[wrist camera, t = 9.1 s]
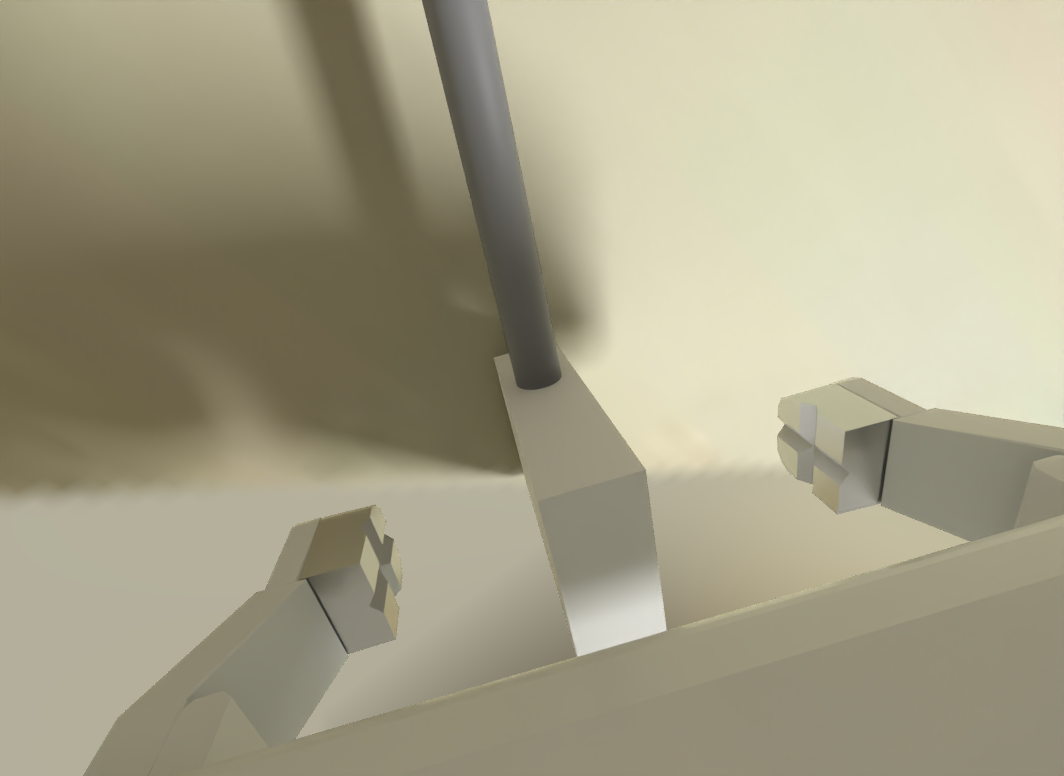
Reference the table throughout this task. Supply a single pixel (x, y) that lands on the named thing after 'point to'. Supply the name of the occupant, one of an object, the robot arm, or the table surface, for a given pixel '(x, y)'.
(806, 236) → the table surface
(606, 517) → the pull block
